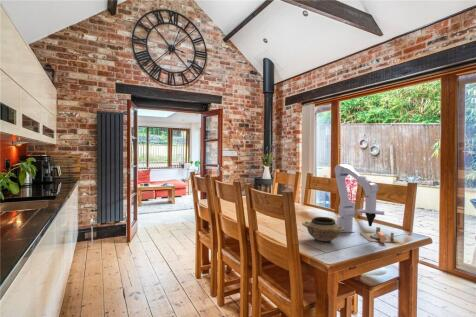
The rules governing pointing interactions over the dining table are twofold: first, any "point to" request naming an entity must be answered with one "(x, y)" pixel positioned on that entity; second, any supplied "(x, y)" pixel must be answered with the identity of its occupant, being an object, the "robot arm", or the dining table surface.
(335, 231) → the ceramic bowl
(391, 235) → the dowel pin
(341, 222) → the robot arm
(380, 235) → the pink irregular piece
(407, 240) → the dining table surface
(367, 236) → the board
